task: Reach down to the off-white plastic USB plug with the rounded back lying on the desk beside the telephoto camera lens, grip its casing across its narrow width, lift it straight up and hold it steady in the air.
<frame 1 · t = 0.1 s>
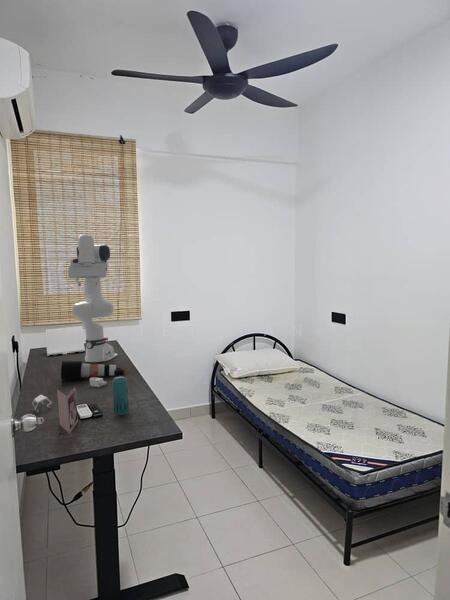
hand: (88, 285, 224), 52 cm above the table, tool tilted 20°, fingers open, 8 cm apart
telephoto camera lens: (94, 377, 227), on the table
origami figure: (42, 408, 184), on the table
usb plug: (97, 385, 212), on the table
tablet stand: (66, 352, 290), on the table
greeting card: (66, 428, 160), on the table
beverage bottle: (121, 415, 172), on the table
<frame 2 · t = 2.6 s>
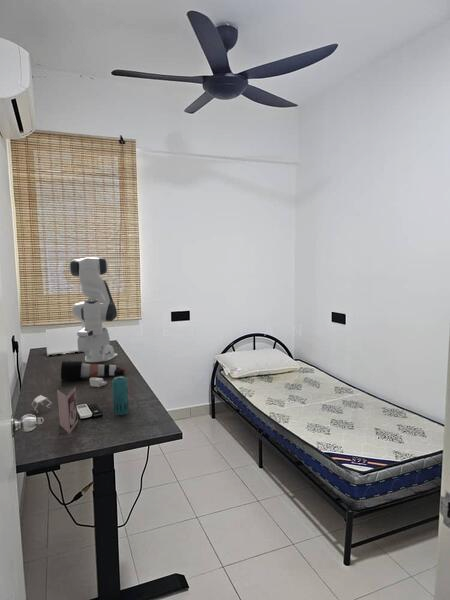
hand: (95, 356, 210), 16 cm above the table, tool pointing down, fingers open, 8 cm apart
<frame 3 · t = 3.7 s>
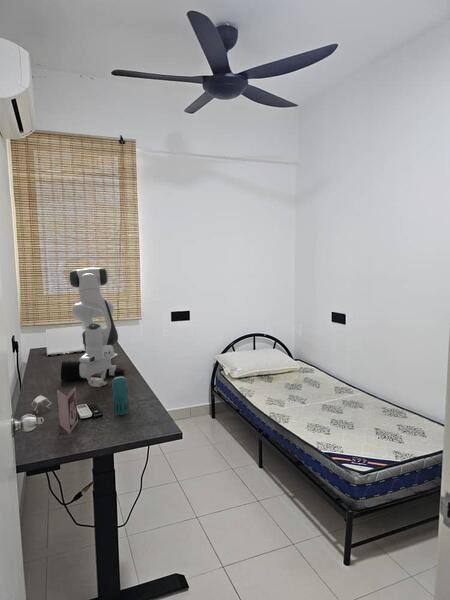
hand: (97, 381, 212), 2 cm above the table, tool pointing down, fingers open, 8 cm apart
nothing on the table moved.
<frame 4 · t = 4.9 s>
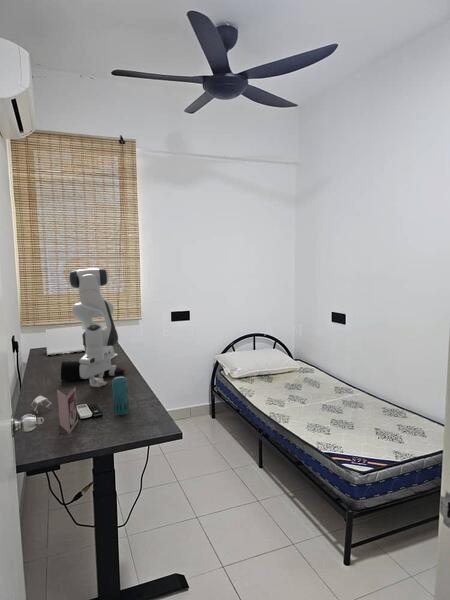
hand: (97, 382, 212), 2 cm above the table, tool pointing down, fingers closed on usb plug, 4 cm apart
usb plug: (97, 385, 212), on the table, touching gripper
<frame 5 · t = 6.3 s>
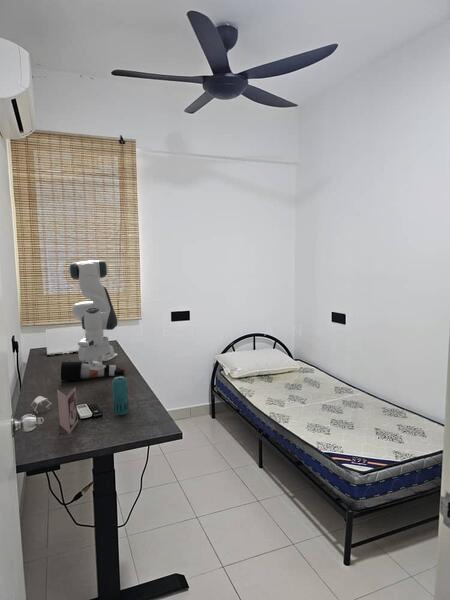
hand: (96, 365, 211), 11 cm above the table, tool pointing down, fingers closed on usb plug, 4 cm apart
usb plug: (96, 368, 212), point 9 cm above the table, touching gripper
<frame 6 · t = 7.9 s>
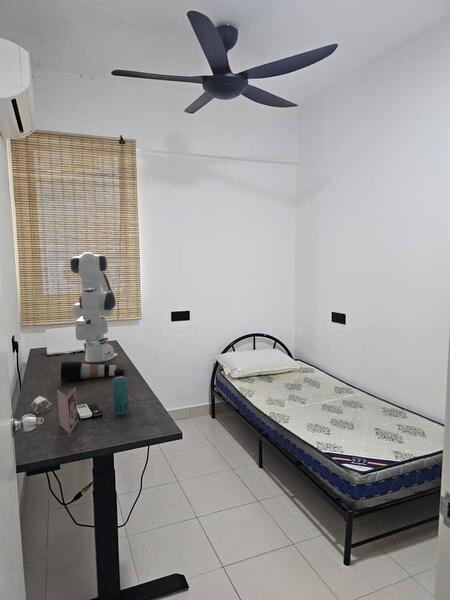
hand: (93, 345, 210), 22 cm above the table, tool pointing down, fingers closed on usb plug, 4 cm apart
usb plug: (93, 348, 210), point 20 cm above the table, touching gripper
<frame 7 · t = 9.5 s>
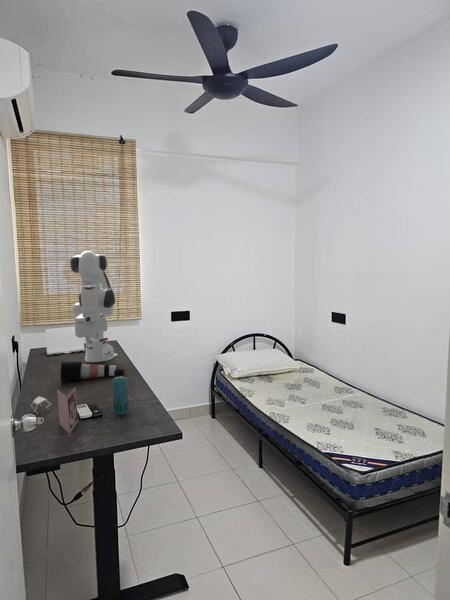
hand: (93, 342, 210), 23 cm above the table, tool pointing down, fingers closed on usb plug, 4 cm apart
usb plug: (93, 346, 210), point 21 cm above the table, touching gripper
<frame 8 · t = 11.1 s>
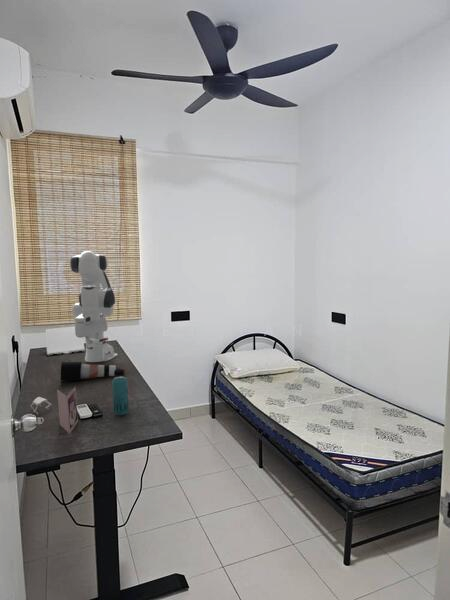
hand: (93, 342, 210), 23 cm above the table, tool pointing down, fingers closed on usb plug, 4 cm apart
usb plug: (93, 346, 210), point 21 cm above the table, touching gripper
at the end: the gripper is holding usb plug; usb plug point 21.2 cm above the table; usb plug touching gripper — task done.
